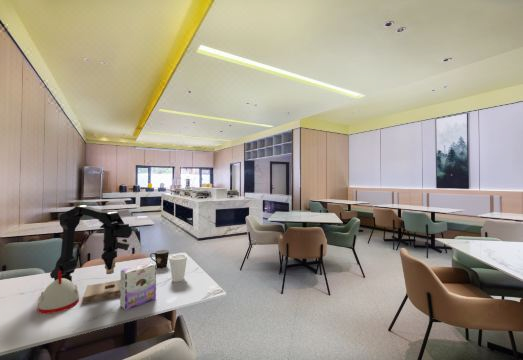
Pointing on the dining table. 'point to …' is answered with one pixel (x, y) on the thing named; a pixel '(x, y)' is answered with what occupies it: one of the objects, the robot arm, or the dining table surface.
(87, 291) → the board
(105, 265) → the peg
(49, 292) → the kitchen timer
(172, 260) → the foam cup
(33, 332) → the dining table surface
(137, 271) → the candy box
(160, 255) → the coffee mug
